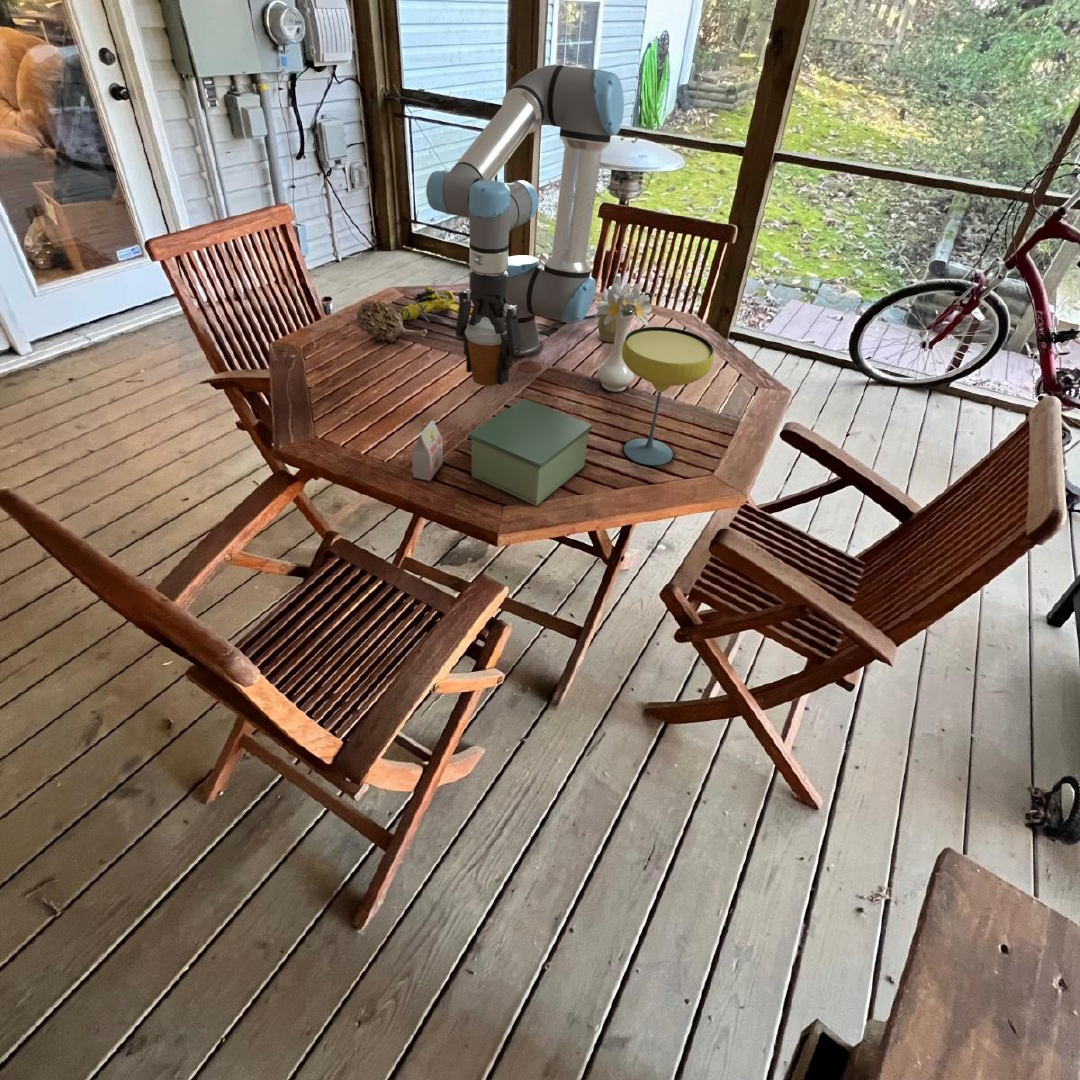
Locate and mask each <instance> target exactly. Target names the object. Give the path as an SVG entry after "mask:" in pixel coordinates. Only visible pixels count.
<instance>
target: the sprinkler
mask: <svg viewBox="0 0 1080 1080" xmlns="http://www.w3.org/2000/svg"><path fill="white" fill-rule="evenodd" d="M438 293H439V292H438V291H437V290H435V289H434V287H431V286H427V287H425V288H424V291H421V292H419V293H417V294H416V297H415V299H414V300H412V301H409V302H408V301H407V300H406V298H405V296H404V295H402V298H403V300H404V301H405V303H406V305H407V306H404V307H402V309H400V310H399V313H400V314H401V315H402V316H403V320H402V321H411V320H413V321H415V320H417V319H418V317H420V316H423V318H424V319H425V320H426V321H427V322H428V323H430V322H431V321H430V319H428V318H427V317H426V315H425V314H427V313H428V314H429V312H432V310H438V311H442V312H450V311H452V312H454V313H455V314H457V315H458V312H459V305H457V304H455V301H456V300H455V296H454V294H453V292H451V291H448V290H444V291H443V293H442V295H440V296H439V294H438ZM472 310H473V308H471V309H470V315H471V312H472Z"/></svg>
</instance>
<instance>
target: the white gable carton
mask: <svg viewBox="0 0 1080 1080" xmlns="http://www.w3.org/2000/svg"><path fill="white" fill-rule="evenodd" d="M443 451H444V449H443V437H442V435H441V433H440V431H439V429H438V426H437V424H436V422H435V419H431V421H429V423H428V424H427V425H426V427H425V428H424V429H423V431H421V433H420V434H419V435H418V439H417V441H416V443H415V445H414V447H413V449H412V450H411V462H412V463H411V464H412V478H416V479H420V480H425V481H429V482H431V481H432V480H433V478H434V477H435V475H436V474H437V473H438V471H439V470H440V468H441V467H442V466H443V464H444V456H443V454H444V453H443Z"/></svg>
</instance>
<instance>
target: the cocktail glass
mask: <svg viewBox="0 0 1080 1080" xmlns="http://www.w3.org/2000/svg"><path fill="white" fill-rule="evenodd" d="M622 358H623V361H624V363H625V364H626V366H627V367H628V368H629V369H630V370H631V371H632V372H633V373H634V375H636V376H637V377H639V378H640V379H642V380H645V381H646V382H649V383H650V384H651V385H652V387H653V388H654V389H655V391H656V392H657V396H656V402H655V408H654V412H653V417H652V421H651V427H650V432H649V436H648V438H634V439H631V440H629V441H627V442H626V443H625V444H624V446H623V453H624V454H625V456H626V457H627V458H628V459H630V460H631V461H632V462H634V463H637V464H640V465H644V466H651V467H652V466H653V467H657V466H663V465H666V464H667V463H670V461H672V459H673V456H674V455H673V453H674V452H673V451H672V448H670V447H669V446H668V445H667V444H665V443H664V442H661V441H659V440H656V439H654V434H655V433H654V432H655V428H656V424H657V423H656V422H657V417H658V413H659V412H658V411H659V406H660V402H661V397H662V393H664V392H666V391H668V389H669V388H671V387H676V386H683V385H688V384H692V383H694V382H697V381H699V380H701V379H703V378H704V377H705V376H706V375H707V374H708V373H710V371H711V368H712V366H713V363H714V360H715V349H714V347H713V345H712V344H711V343H710V342H709V341H708V340H707V339H706V338H704V337H703V336H700V335H699V334H696V333H694V332H691V331H688V330H684V329H679V328H674V327H668V326H648V327H647V326H645V327H640V328H637V329H634V330H631V331H630V332H628V335H627V336H626V337H625V339H624V342H623V346H622Z"/></svg>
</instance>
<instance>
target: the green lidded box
mask: <svg viewBox="0 0 1080 1080" xmlns="http://www.w3.org/2000/svg"><path fill="white" fill-rule="evenodd" d="M593 426H594V425H593V424H592V423H589V422H586V421H583V420H581V419H579V418H576V417H574V416H571V415H568V414H567V413H563V412H560V411H558V410H556V409H552V408H551V407H548V406H545V405H542V404H541V403H537V402H535V401H533V400H530V399H527V398H522V399H521V400H519V401H518V402H516V403H515V404H513V405H511V406H510V407H508V408H507V409H505V410H504V411H501V412H499V414H496V415H495V416H494V417H492V418H490V419H489V420H487V421H486V422H484V423H483V424H481V425H479V426H478V427H476V428H475V429H473V430H472V431H469V432H468V433H467V438H468V439H470V440H471V477H472V478H475V479H477V480H479V481H482V482H484V483H486V484H488V485H490V486H492V487H494V488H497V489H498V490H501V491H503V492H505V493H508V494H510V495H512V496H514V497H516V498H518V499H520V500H523V501H525V502H527V503H529V504H531V505H534V506H536V507H537V506H538V505H539V504H540V503H542V502H543V501H544V500H545V499H546V498H548V497H549V496H550V495H551V494H552V493H554V492H555V491H556V490H557V489H558V488H560V487H562V486H563V484H565V483H566V482H567V481H569V479H570V478H572V477H573V476H575V474H577V473H578V472H579V471H581V469H583V468H584V467H585V463H586V454H587V447H588V440H589V439H588V438H589V432H591V431H592V430H593V428H594V427H593Z"/></svg>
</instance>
